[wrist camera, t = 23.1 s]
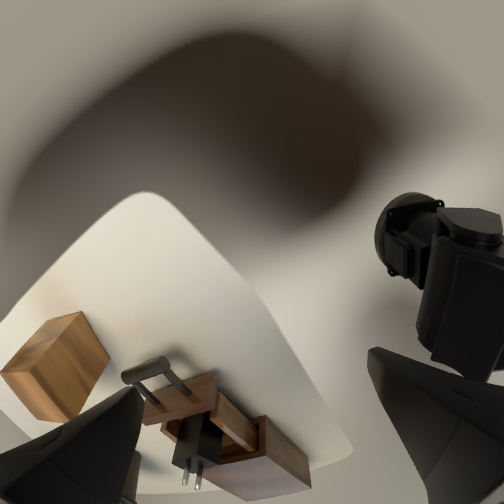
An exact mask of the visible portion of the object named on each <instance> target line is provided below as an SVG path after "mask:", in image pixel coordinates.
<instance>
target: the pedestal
mask: <svg viewBox="0 0 504 504" xmlns="http://www.w3.org/2000/svg"><path fill="white" fill-rule="evenodd" d="M109 360H110V357H109V356H108V354H107V353H106V351H105V350H104V348H103V347H102V345H101V343H100V342H99V340H98V339H97V337H96V335H95V334H94V332H93V330H92V329H91V327H90V325H89V324H88V322H87V320H86V319H85V317H84V315H83V313H82V312H77V313H73V314H69V315H66V316H62V317H58V318H55V319H51V320H47V321H46V322H45V323H44V324H43V325H42V326H41V327H40V328H39V329H38V330H37V331H36V332H35V334H34V335H33V336H32V337H31V338H30V339H29V340H28V341H27V342H26V343H25V344H24V345H23V346H22V347H21V349H20V350H19V351H18V352H17V353H16V354H15V355H14V356H13V357H12V359H11V360H10V361H9V362H8V363H7V364H6V365H5V367H4V368H3V369H2V370H1V371H0V374H1V376H2V377H3V379H4V380H5V381H6V383H7V384H8V385H9V387H10V388H11V389H12V390H13V392H14V393H15V394H16V396H17V397H18V398H19V399H20V400H21V402H22V403H23V404H24V405H25V406H26V408H27V409H28V410H29V411H30V412H31V413H32V414H33V416H34V417H35V418H36V419H37V420H43V421H49V422H57V423H67V422H68V421H70V420H72V419H73V418H75V417H77V416H78V415H79V413H80V411H81V409H82V407H83V405H84V404H85V402H86V400H87V398H88V396H89V395H90V393H91V391H92V389H93V388H94V386H95V384H96V382H97V381H98V379H99V377H100V375H101V374H102V372H103V370H104V369H105V367H106V365H107V363H108V362H109Z"/></svg>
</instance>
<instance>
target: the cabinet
mask: <svg viewBox="0 0 504 504" xmlns="http://www.w3.org/2000/svg"><path fill="white" fill-rule="evenodd" d="M249 421H250V422H251V423H252V424H253V425H254V426H255V427H256V428H257V429H258V430H259V451H257V452H253V453H249V454H245V455H240V456H236V457H231V458H226V459H221V460H220V465H218V466H215V467H212V468H209V469H206V470H203V475H202V477H203V478H205V479H206V480H208V481H210V482H211V483H213V484H215V485H217V486H218V487H220V488H222V489H224V490H226V491H227V492H230V493H231V494H233V495H235V496H237V497H239V498H241V499H243V500H245V501H254V500H260V499H266V498H272V497H277V496H282V495H287V494H291V493H295V492H300V491H304V490H308V489H311V488H312V487H311V479H310V471H309V463H308V456H307V455H306V454H304V453H303V452H302V451H301V450H300V449H299V448H298V447H297V446H296V445H295V444H294V443H293V442H292V441H291V440H290V439H289V438H288V437H286V436H285V435H284V434H283V433H282V432H281V431H280V430H279V429H278V428H277V427H276V426H275V425H274V424H273V423H272V422H271V421H270V420H269V419H268V418H267V417H266V416H265V415H264V416H261V417H258V418H254V419H251V420H249ZM196 474H197V473H196Z"/></svg>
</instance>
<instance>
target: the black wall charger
mask: <svg viewBox="0 0 504 504" xmlns="http://www.w3.org/2000/svg"><path fill="white" fill-rule="evenodd" d="M210 415H211V410H210V411H206V412H203V413H199V414H195V415H191V416H188V417H185V418H183V419H182V421H181V425H180V429H179V433H178V437H177V442H176V446H175V450H174V455H173V459H172V464H173V465H175V466H177V467H179V468H181V469H184V474H183V480H182V485H184V486H186V485H187V484H188V479H189V473H192V474H193V473H197V477H196V484H195V490H196V491H199V490H200V489H201V482H202V475H203V470H206V469H209V468H212V467H215V466H218V465H220V456H221V446H222V437H223V430H221V429H220V428H219V427H218V426H217V425H216V424H214V423H213V422H212V421H211V420H210Z"/></svg>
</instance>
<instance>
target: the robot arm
mask: <svg viewBox="0 0 504 504" xmlns="http://www.w3.org/2000/svg"><path fill="white" fill-rule="evenodd" d="M440 203H441V205H440V207H439V204H440ZM391 211H392V215H391V216H389V213H390V212H391ZM385 225H386V232H385V233H384V246H385V260H386V261H387V272H388V274H389V275H390V276H391V277H395V276H399V275H401V276H402V277H403V278H405V279H408V278H409V279H410V280H411V281H412V282H413V283H414V284H415V285H416V286H417V287H418V288H419V289H420V290H423V289H424V291H423V296H422V301H421V305H420V310H419V314H418V318H417V322H416V329H417V332H418V335H419V336H418V340H419V341H420V342H421V344H422V345H423V346H424V347H425V348H426V349H427V350H428V351H430V352H431V353H432V355H431V358H430V359H431V360H432V361H435V362H438V363H442V364H445V365H447V366H449V367H451V368H453V369H454V370H456V371H457V372H459V373H460V374H461V375H462V376H464V377H462V376H459V375H456V374H453V373H449V372H446V371H443V370H440V369H438V368H435V367H432V366H429V365H426V364H424V363H421V362H418V361H415V360H413V359H410V358H407V357H404V356H402V355H399V354H396V353H394V352H391V351H389V350H386V349H384V348H381V347H375V348H372V349H369V351H368V361H367V367H368V372H369V374H370V376H371V379H372V382H373V384H374V387H375V390H376V392H377V395H378V397H379V400H380V402H381V403H382V405H383V407H384V409H385V411H386V412H387V414H388V416H389V418H390V420H391V422H392V423H393V425H394V427H395V429H396V431H397V433H398V435H399V436H400V438H401V440H402V442H403V444H404V446H405V448H406V449H407V451H408V453H409V455H410V457H411V459H412V461H413V463H414V465H415V466H416V469H417V471H418V473H419V475H420V476H421V478H422V480H423V482H424V485H425V487H426V490H427V494H428V501H429V504H504V386H499V385H494V384H489V383H487V381H488V379H489V377H490V375H491V373H492V372H495V371H503V370H504V235H502V234H503V227H502V222H501V217H500V215H499V214H496V213H493V212H489V211H486V210H483V209H479V208H445V203H444V201H443V200H440V199H437V200H431V201H425V202H419V203H413V204H407V205H401V206H395V207H389V208H387V209H386V210H385ZM392 270H394V272H393V273H391V271H392ZM144 407H145V402H144V399H143V398H142V396H141V395H140V393H139V391H138V390H137V388H136V387H134V386H127V387H125V388H123V389H121V390H120V391H118V392H117V393H115V394H113V395H112V396H110V397H108V398H107V399H105V400H104V401H102V402H100V403H99V404H97V405H95V406H94V407H92V408H90V409H89V410H87V411H85V412H84V413H82V414H80V415H79V416H77V417H75V418H73V419H72V420H70V421H68V422H67V423H65V424H63V425H61V426H59V427H57V428H55V429H54V430H52V431H50V432H48V433H46V434H44V435H42V436H40V437H38V438H36V439H34V440H32V441H29V442H27V443H25V444H23V445H20V446H18V447H16V448H13V449H11V450H9V451H6V452H4V453H2V454H0V504H120V503H121V499H122V495H123V491H124V487H125V484H126V480H127V476H128V473H129V469H130V465H131V462H132V458H133V455H134V451H135V448H136V445H137V441H138V438H139V434H140V430H141V424H142V418H143V413H144Z"/></svg>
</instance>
